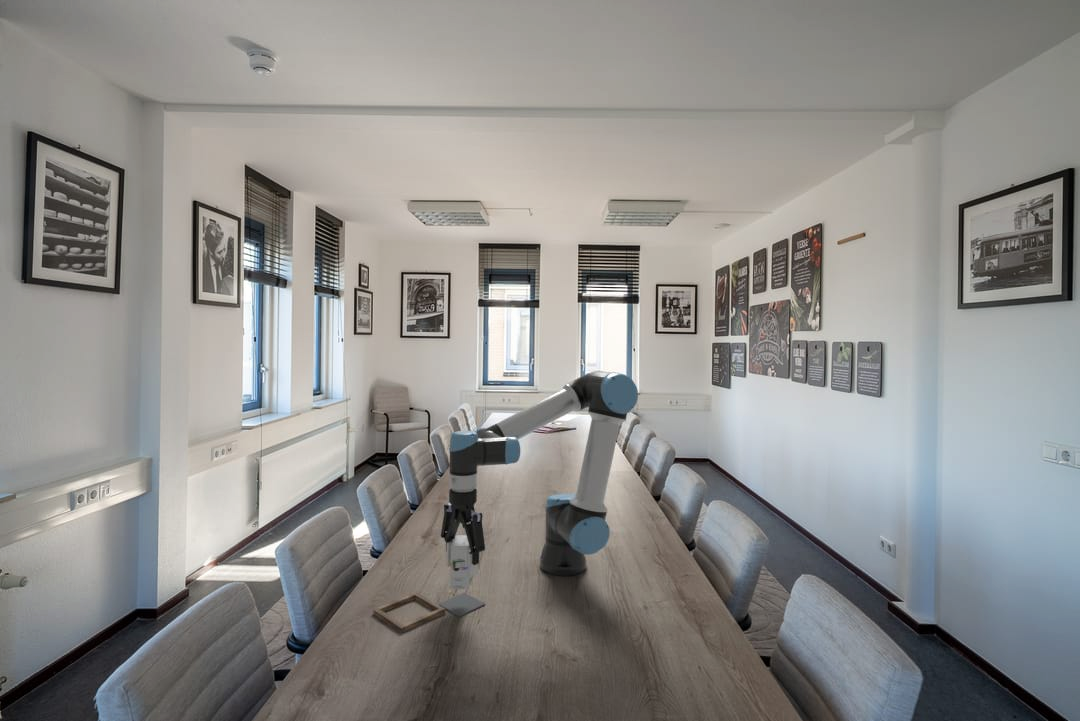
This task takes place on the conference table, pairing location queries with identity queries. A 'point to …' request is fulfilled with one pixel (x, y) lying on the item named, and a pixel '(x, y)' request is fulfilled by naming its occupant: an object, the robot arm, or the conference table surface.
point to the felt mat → (461, 604)
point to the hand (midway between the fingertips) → (461, 569)
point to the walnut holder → (404, 627)
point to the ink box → (460, 563)
